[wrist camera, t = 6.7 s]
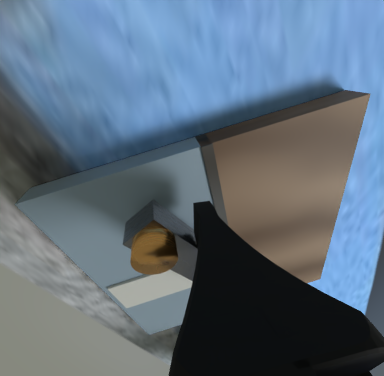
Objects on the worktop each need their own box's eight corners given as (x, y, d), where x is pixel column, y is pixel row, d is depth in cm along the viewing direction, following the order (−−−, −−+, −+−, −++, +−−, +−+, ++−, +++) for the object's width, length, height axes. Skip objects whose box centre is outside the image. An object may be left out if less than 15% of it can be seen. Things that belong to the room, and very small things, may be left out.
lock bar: (248, 262, 15) (269, 303, 13) (224, 277, 16) (239, 320, 13) (155, 188, 10) (158, 234, 7) (124, 215, 11) (116, 266, 8)
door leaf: (232, 291, 21) (238, 308, 20) (148, 318, 21) (148, 337, 20) (194, 136, 11) (201, 148, 9) (30, 188, 11) (12, 206, 9)
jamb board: (310, 266, 21) (320, 279, 20) (232, 291, 21) (238, 307, 20) (345, 90, 11) (372, 93, 10) (194, 136, 11) (201, 147, 10)
